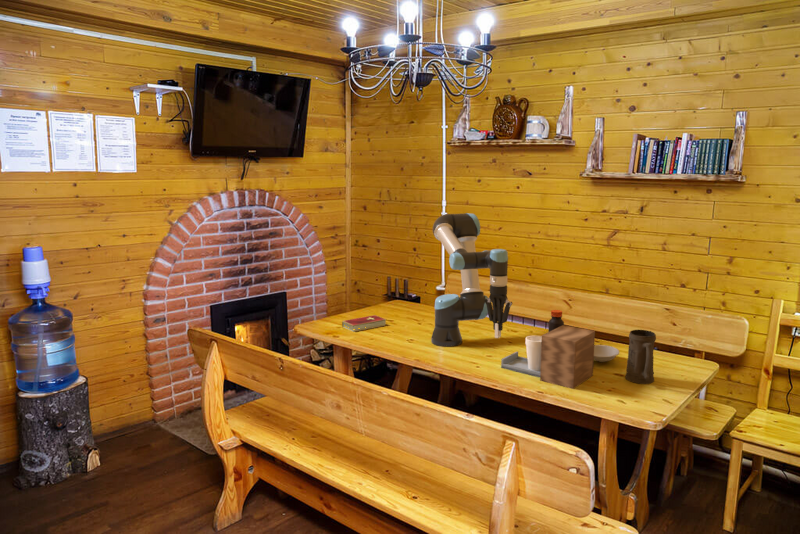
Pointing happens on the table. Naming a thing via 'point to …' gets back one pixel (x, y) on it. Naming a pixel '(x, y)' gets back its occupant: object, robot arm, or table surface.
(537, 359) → the foam cup
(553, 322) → the bottle
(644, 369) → the beer stein
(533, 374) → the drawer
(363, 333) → the table surface
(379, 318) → the hardcover book
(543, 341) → the wood grain box
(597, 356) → the dish
